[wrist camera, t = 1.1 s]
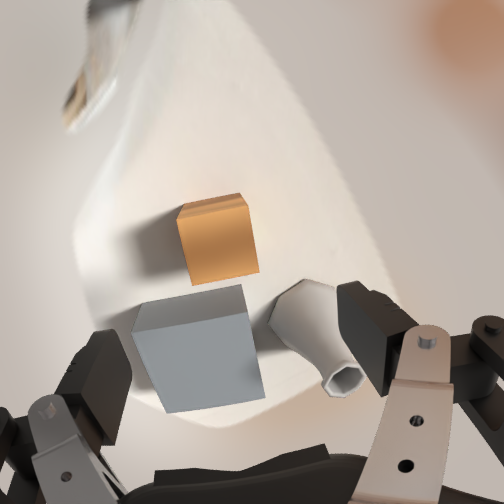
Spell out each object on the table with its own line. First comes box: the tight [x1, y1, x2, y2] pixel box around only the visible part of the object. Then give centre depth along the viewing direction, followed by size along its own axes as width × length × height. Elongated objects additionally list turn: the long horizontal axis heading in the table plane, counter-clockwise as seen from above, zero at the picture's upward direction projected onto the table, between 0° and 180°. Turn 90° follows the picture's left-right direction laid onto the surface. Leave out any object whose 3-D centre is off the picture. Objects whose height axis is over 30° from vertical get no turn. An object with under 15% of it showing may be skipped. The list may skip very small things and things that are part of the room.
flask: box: [268, 279, 367, 398], centre depth 25 cm, size 7×7×10 cm
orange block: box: [176, 193, 259, 286], centre depth 23 cm, size 4×4×6 cm
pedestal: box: [131, 284, 265, 413], centre depth 26 cm, size 9×9×5 cm
